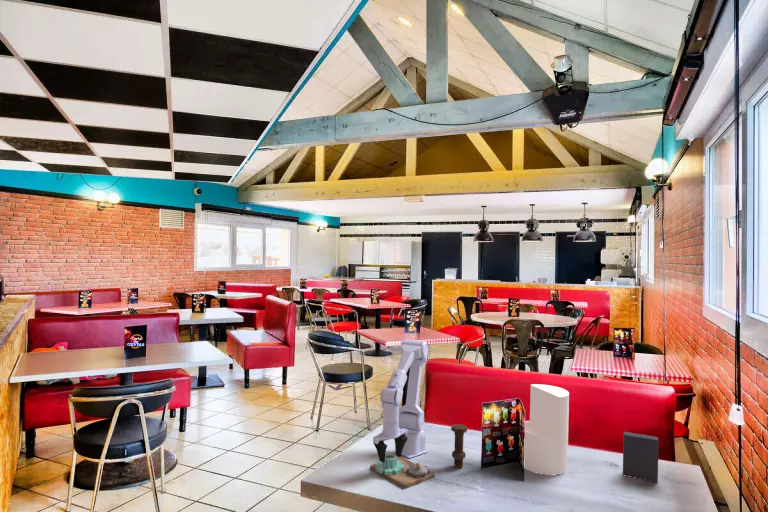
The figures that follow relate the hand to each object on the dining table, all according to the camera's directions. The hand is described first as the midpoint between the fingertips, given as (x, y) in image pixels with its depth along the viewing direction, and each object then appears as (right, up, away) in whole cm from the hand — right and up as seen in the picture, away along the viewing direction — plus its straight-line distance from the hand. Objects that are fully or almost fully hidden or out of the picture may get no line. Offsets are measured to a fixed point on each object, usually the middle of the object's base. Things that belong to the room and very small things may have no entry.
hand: (390, 458), depth 174 cm
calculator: (+89, -7, 0) cm, 90 cm away
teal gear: (0, -4, 0) cm, 4 cm away
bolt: (+25, -5, +5) cm, 26 cm away
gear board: (+4, -5, 0) cm, 6 cm away
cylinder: (+58, -6, +9) cm, 59 cm away
